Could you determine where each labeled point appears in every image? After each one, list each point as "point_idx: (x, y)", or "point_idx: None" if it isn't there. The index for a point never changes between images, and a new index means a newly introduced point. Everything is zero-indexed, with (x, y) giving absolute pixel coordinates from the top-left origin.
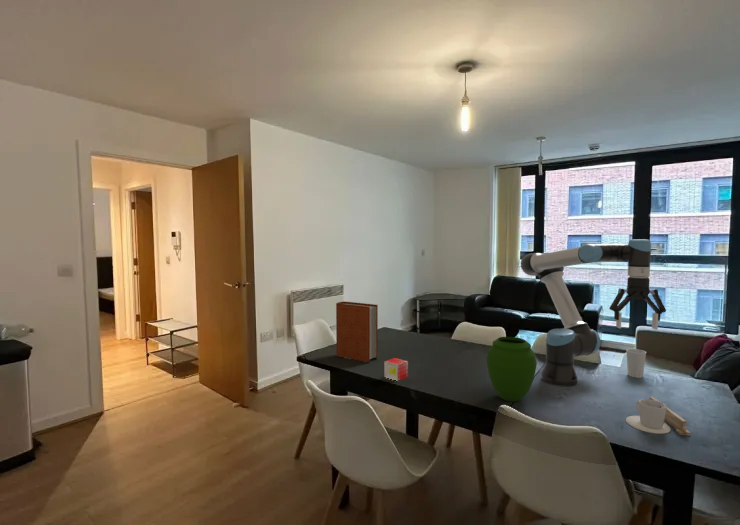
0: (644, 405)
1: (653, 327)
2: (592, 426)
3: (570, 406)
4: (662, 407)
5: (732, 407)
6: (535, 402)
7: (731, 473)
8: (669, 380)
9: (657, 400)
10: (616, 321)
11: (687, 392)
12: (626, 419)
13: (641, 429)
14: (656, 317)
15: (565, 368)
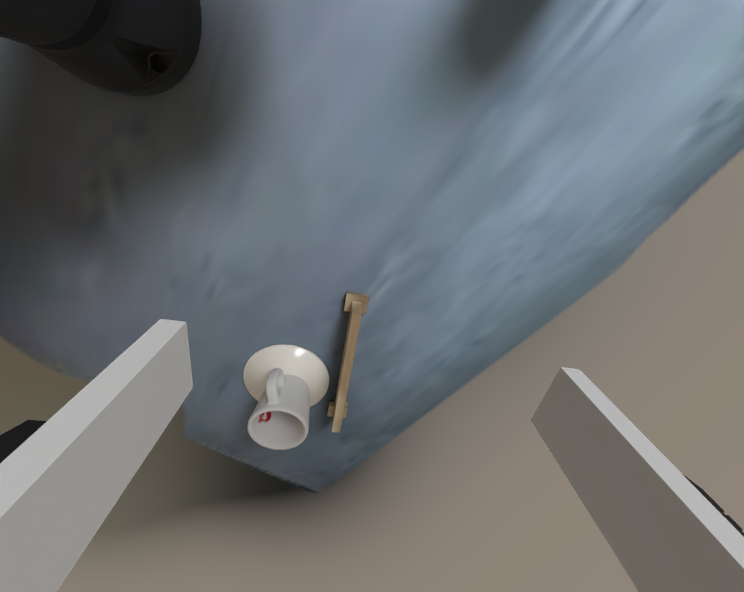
0: (251, 437)
1: (556, 400)
2: None
3: (121, 287)
4: (302, 426)
5: (586, 291)
6: (7, 259)
7: (319, 491)
8: (665, 12)
9: (355, 338)
10: (106, 372)
11: (584, 174)
12: (247, 363)
13: (257, 400)
14: (635, 578)
15: (67, 54)
